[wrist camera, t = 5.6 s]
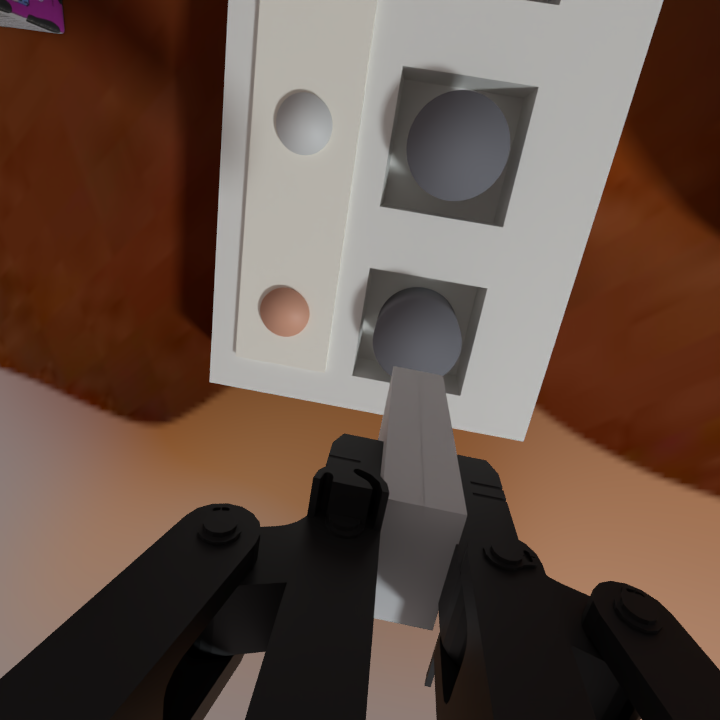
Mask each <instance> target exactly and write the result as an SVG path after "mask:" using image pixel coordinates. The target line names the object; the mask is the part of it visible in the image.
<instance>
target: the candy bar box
mask: <svg viewBox="0 0 720 720" xmlns="http://www.w3.org/2000/svg"><path fill="white" fill-rule="evenodd" d="M0 26H1V27H14V28H21V29H29V30H36V31H43V32H50V33H57V34H63V33H64V16H63V5H62V0H0Z"/></svg>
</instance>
